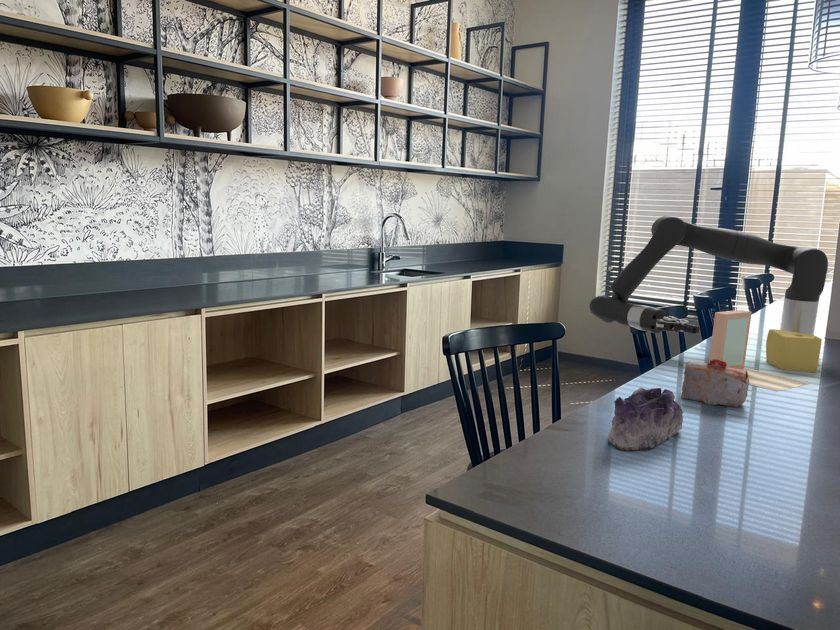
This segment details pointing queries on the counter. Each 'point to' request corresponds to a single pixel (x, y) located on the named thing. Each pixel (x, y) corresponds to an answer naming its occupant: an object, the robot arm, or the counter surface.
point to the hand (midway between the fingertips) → (697, 330)
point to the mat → (771, 381)
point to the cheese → (793, 350)
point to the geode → (645, 420)
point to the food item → (715, 383)
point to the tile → (730, 337)
